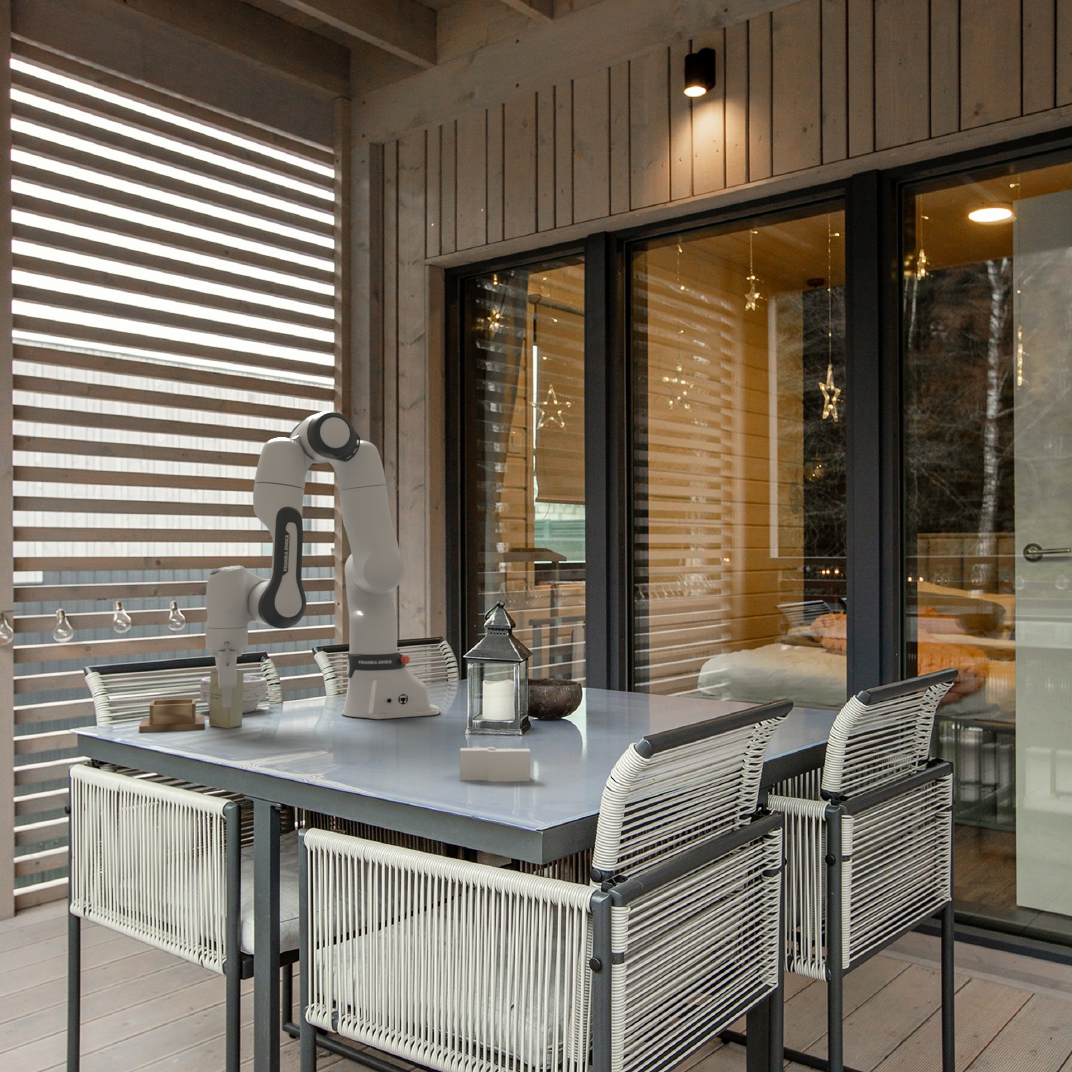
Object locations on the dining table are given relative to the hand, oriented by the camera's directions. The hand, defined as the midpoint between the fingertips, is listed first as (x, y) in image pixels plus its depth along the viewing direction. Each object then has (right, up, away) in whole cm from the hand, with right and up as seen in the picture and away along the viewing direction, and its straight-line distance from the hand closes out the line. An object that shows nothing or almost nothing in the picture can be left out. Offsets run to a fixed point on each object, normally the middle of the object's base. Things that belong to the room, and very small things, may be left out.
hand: (226, 704), depth 229 cm
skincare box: (0, -5, 0) cm, 5 cm away
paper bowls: (-5, -5, +22) cm, 23 cm away
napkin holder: (+60, -4, -54) cm, 81 cm away
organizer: (-11, -5, 0) cm, 12 cm away
